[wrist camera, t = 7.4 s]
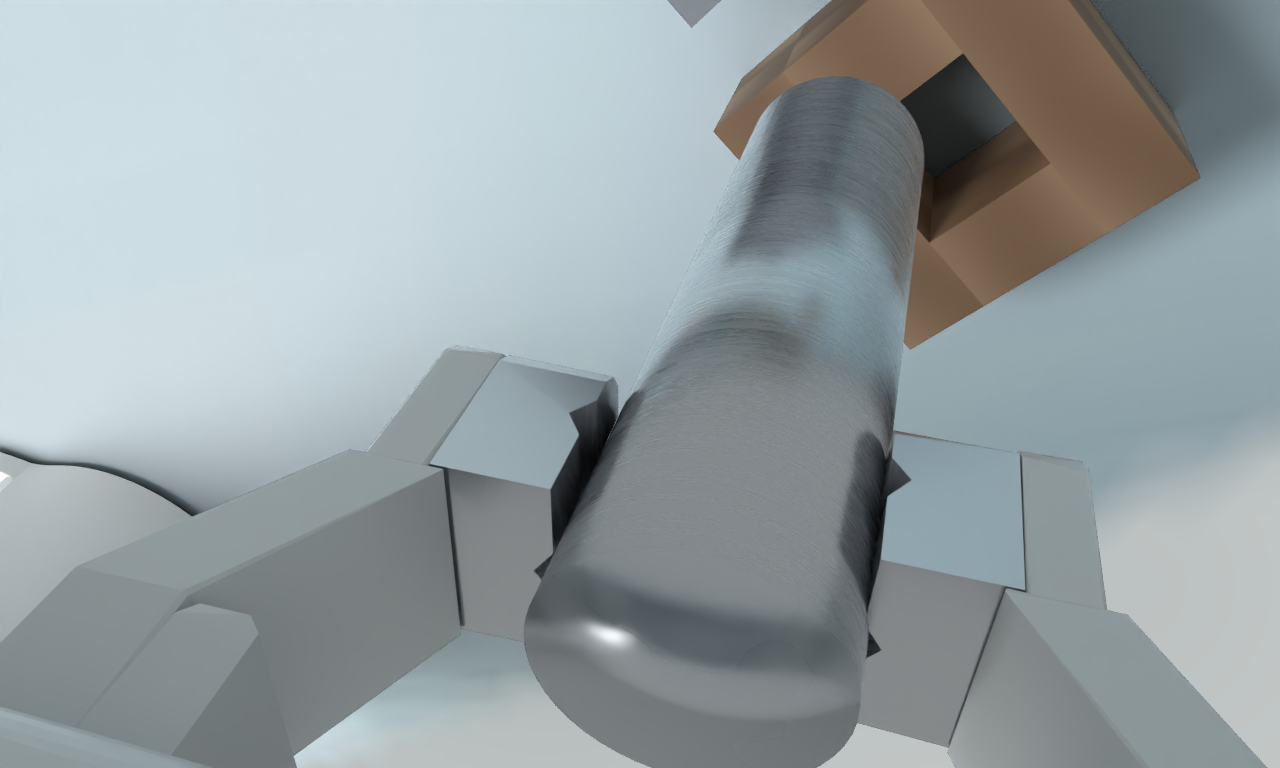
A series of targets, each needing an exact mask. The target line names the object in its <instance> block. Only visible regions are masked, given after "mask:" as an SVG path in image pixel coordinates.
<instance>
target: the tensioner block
mask: <svg viewBox="0 0 1280 768" xmlns="http://www.w3.org/2000/svg"><path fill="white" fill-rule="evenodd" d="M961 54H964V55H965V56H966V58H967V59H968V60H969V62H970V63H971V64H972V65H973V67H974V68H975V69H976V70H977V72H978V73H979V74H980V75H981V77H982V78H983V79H984V80H985V82H986V83H987V84H988V85H989V87H990V88H991V89H992V90H993V92H994V93H995V94H996V95H997V97H998V98H999V99H1000V101H1001V102H1002V103H1003V104H1004V106H1005V107H1006V108H1007V109H1008V111H1009V112H1010V113H1011V114H1012V116H1013V117H1014V118H1015V119H1016V122H1015V123H1013V124H1012V125H1010V126H1009V127H1008V128H1006V129H1005V130H1003V131H1002V132H1000V133H999V134H997V135H996V136H995V137H993V138H992V139H990V140H989V141H987V142H986V143H984V144H983V145H982V146H980V147H979V148H977V149H976V150H974V151H973V152H972V153H970V154H969V155H967V156H966V157H964V158H963V159H961V160H960V161H959V162H957V163H956V164H954V165H953V166H951V167H950V168H948V169H947V170H946V171H944V172H943V173H941V174H940V175H938V176H937V177H935V178H934V177H933V176H932V175H931V174H930V172H929V171H928V170H927V169H926V168H925V166H924V171H923V180H922V188H921V197H920V205H919V214H918V222H917V230H916V239H915V247H914V256H913V264H912V273H911V281H910V290H909V298H908V307H907V315H906V324H905V332H904V341H903V342H904V343H905V344H906V345H907V347H908V348H909V349H912V348H914V347H915V346H917V345H919V344H921V343H922V342H924V341H926V340H927V339H929V338H931V337H932V336H934V335H936V334H937V333H939V332H941V331H943V330H944V329H946V328H948V327H949V326H951V325H953V324H954V323H956V322H958V321H959V320H961V319H963V318H965V317H966V316H968V315H970V314H971V313H973V312H975V311H976V310H978V309H980V308H981V307H983V306H985V305H987V304H988V303H990V302H992V301H993V300H995V299H997V298H998V297H1000V296H1002V295H1003V294H1005V293H1007V292H1009V291H1010V290H1012V289H1014V288H1015V287H1017V286H1019V285H1020V284H1022V283H1024V282H1025V281H1027V280H1029V279H1031V278H1032V277H1034V276H1036V275H1037V274H1039V273H1041V272H1042V271H1044V270H1046V269H1047V268H1049V267H1051V266H1053V265H1054V264H1056V263H1058V262H1059V261H1061V260H1063V259H1064V258H1066V257H1068V256H1069V255H1071V254H1073V253H1075V252H1076V251H1078V250H1080V249H1081V248H1083V247H1085V246H1086V245H1088V244H1090V243H1091V242H1093V241H1095V240H1097V239H1098V238H1100V237H1102V236H1103V235H1105V234H1107V233H1108V232H1110V231H1112V230H1113V229H1115V228H1117V227H1119V226H1120V225H1122V224H1124V223H1125V222H1127V221H1129V220H1130V219H1132V218H1134V217H1135V216H1137V215H1139V214H1141V213H1142V212H1144V211H1146V210H1147V209H1149V208H1151V207H1152V206H1154V205H1156V204H1157V203H1159V202H1161V201H1163V200H1164V199H1166V198H1168V197H1169V196H1171V195H1173V194H1174V193H1176V192H1178V191H1179V190H1181V189H1183V188H1184V187H1186V186H1188V185H1190V184H1191V183H1193V182H1195V181H1196V180H1198V179H1200V178H1201V177H1200V175H1199V173H1198V170H1197V168H1196V165H1195V163H1194V160H1193V158H1192V156H1191V153H1190V151H1189V148H1188V146H1187V144H1186V141H1185V139H1184V136H1183V134H1182V132H1181V129H1180V127H1179V124H1178V122H1177V119H1176V117H1175V115H1174V113H1173V112H1172V110H1171V109H1170V108H1169V106H1168V105H1167V104H1166V102H1165V101H1164V100H1163V98H1162V97H1161V96H1160V94H1159V93H1158V92H1157V90H1156V89H1155V87H1154V86H1153V85H1152V83H1151V82H1150V81H1149V79H1148V78H1147V77H1146V75H1145V74H1144V73H1143V71H1142V70H1141V69H1140V67H1139V66H1138V64H1137V63H1136V62H1135V60H1134V59H1133V58H1132V56H1131V55H1130V54H1129V52H1128V51H1127V50H1126V48H1125V47H1124V45H1123V44H1122V43H1121V41H1120V40H1119V39H1118V37H1117V36H1116V35H1115V33H1114V32H1113V31H1112V29H1111V28H1110V27H1109V25H1108V24H1107V22H1106V21H1105V20H1104V18H1103V17H1102V16H1101V14H1100V13H1099V12H1098V10H1097V9H1096V8H1095V6H1094V5H1093V4H1092V2H1091V1H1090V0H832V1H831V2H829V3H828V4H827V5H826V6H825V7H824V8H822V9H821V10H820V11H819V12H818V13H817V14H816V15H814V16H813V17H812V18H811V19H810V20H809V21H808V22H806V23H805V24H804V25H803V26H802V27H801V28H799V29H798V30H797V31H796V32H795V33H794V34H793V35H791V36H790V37H789V38H788V39H787V40H786V41H785V42H783V43H782V44H781V45H780V46H779V47H778V48H776V49H775V50H774V51H773V52H772V53H771V54H770V55H768V56H767V57H766V58H765V59H764V60H763V61H762V62H760V63H759V64H758V65H757V66H756V67H755V68H753V69H752V70H751V71H750V72H749V73H748V74H747V75H745V76H744V77H743V78H742V79H741V81H740V83H739V85H738V87H737V89H736V91H735V92H734V94H733V96H732V98H731V100H730V102H729V104H728V105H727V107H726V109H725V111H724V113H723V115H722V117H721V118H720V120H719V122H718V124H717V126H716V128H715V130H714V131H713V132H714V133H715V134H716V135H717V136H718V137H719V138H720V139H721V140H722V142H723V143H724V144H725V145H726V146H727V147H728V148H729V149H730V150H731V152H732V153H733V154H734V155H735V156H736V157H737V158H738V159H739V160H740V158H741V156H742V154H743V152H744V150H745V147H746V145H747V143H748V141H749V139H750V137H751V135H752V133H753V131H754V128H755V126H756V124H757V122H758V120H759V118H760V117H761V115H762V114H763V113H764V111H765V110H766V108H767V107H768V106H769V105H770V104H771V103H772V102H773V101H774V100H775V99H776V98H777V97H779V96H780V95H781V94H782V93H784V92H785V91H787V90H788V89H790V88H792V87H794V86H796V85H798V84H800V83H802V82H805V81H808V80H812V79H815V78H821V77H829V76H843V77H852V78H857V79H861V80H864V81H867V82H870V83H873V84H875V85H877V86H879V87H881V88H883V89H884V90H886V91H887V92H889V93H890V94H892V95H893V96H894V97H895V98H896V99H898V100H899V101H901V100H902V99H904V98H905V97H906V96H908V95H909V94H910V93H912V92H913V91H914V90H915V89H917V88H918V87H919V86H921V85H922V84H923V83H925V82H926V81H927V80H929V79H930V78H931V77H933V76H934V75H935V74H937V73H938V72H939V71H940V70H942V69H943V68H944V67H946V66H947V65H948V64H950V63H951V62H952V61H954V60H955V59H956V58H958V57H959V56H960V55H961Z"/></svg>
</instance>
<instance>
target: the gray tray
mask: <svg viewBox="0 0 1280 768" xmlns="http://www.w3.org/2000/svg"><path fill="white" fill-rule="evenodd" d="M720 1H721V0H668V2H669V3H670V4H671V5H672V6H673V7H674V8H675V10H676V11H677V12H678V13H679V14H680V15H681V16H682V17H683V19H684V20H685V21H686V22H687V23H688V24H689V25H690V27H691V28H692V27H693V26H694V25H695V24H696V23H697V22H698V21H699V20H700V19H702V18H703V17H704V16H705V15H706V14H707V13H708V12H709V11H710V10H711V9H712V8H713V7H714V6H715V5H716V4H717V3H719V2H720Z"/></svg>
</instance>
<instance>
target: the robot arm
mask: <svg viewBox="0 0 1280 768" xmlns="http://www.w3.org/2000/svg"><path fill="white" fill-rule="evenodd" d="M617 417H618V385H617V383H616V381H615V379H614V377H611V376H606V375H601V374H596V373H592V372H587V371H582V370H577V369H573V368H568V367H563V366H558V365H554V364H549V363H544V362H539V361H535V360H530V359H525V358H520V357H516V356H511V355H509V356H505V355H503V354H499V353H494V352H489V351H484V350H479V349H474V348H469V347H463V346H458V345H456V346H454V347H451V348H448V349H446V350H445V351H443V352H442V354H441V355H440V356H439V357H438V359H437V360H436V361H435V363H434V364H433V365H432V367H431V368H430V369H429V370H428V372H427V373H426V374H425V376H424V377H423V378H422V380H421V381H420V382H419V383H418V385H417V386H416V387H415V389H414V390H413V391H412V393H411V394H410V395H409V396H408V398H407V399H406V400H405V402H404V403H403V404H402V405H401V407H400V408H399V409H398V411H397V412H396V413H395V415H394V416H393V417H392V418H391V420H390V421H389V422H388V424H387V425H386V426H385V428H384V429H383V430H382V431H381V433H380V434H379V435H378V437H377V438H376V439H375V441H374V442H373V443H372V444H371V446H370V447H369V448H368V450H367V451H366V452H361V451H356V450H351V449H349V450H347V451H344V452H342V453H340V454H337V455H335V456H333V457H330V458H328V459H326V460H323V461H321V462H319V463H316V464H314V465H312V466H309V467H307V468H305V469H302V470H300V471H298V472H295V473H293V474H291V475H288V476H286V477H284V478H281V479H279V480H277V481H274V482H272V483H270V484H267V485H265V486H263V487H260V488H258V489H256V490H253V491H251V492H249V493H246V494H244V495H242V496H239V497H237V498H234V499H232V500H230V501H227V502H225V503H223V504H220V505H218V506H216V507H213V508H211V509H209V510H206V511H204V512H202V513H199V514H197V515H195V516H190V515H189V514H188V513H186V512H185V511H183V510H182V509H180V508H179V507H177V506H176V505H174V504H173V503H171V502H170V501H168V500H166V499H165V498H163V497H161V496H159V495H158V494H156V493H154V492H152V491H150V490H148V489H146V488H144V487H142V486H140V485H138V484H136V483H133V482H131V481H129V480H126V479H123V478H121V477H118V476H115V475H112V474H109V473H106V472H102V471H98V470H94V469H90V468H84V467H78V466H64V465H39V464H33V463H30V462H27V461H24V460H22V459H19V458H16V457H13V456H10V455H8V454H5V453H2V452H0V768H297V766H296V763H295V759H294V755H296V754H297V753H298V752H300V751H301V750H302V749H304V748H305V747H306V746H308V745H309V744H311V743H312V742H313V741H315V740H316V739H317V738H319V737H320V736H322V735H323V734H324V733H326V732H327V731H328V730H330V729H331V728H333V727H334V726H335V725H337V724H338V723H339V722H341V721H342V720H344V719H345V718H346V717H348V716H349V715H350V714H352V713H353V712H355V711H356V710H357V709H359V708H360V707H361V706H363V705H364V704H366V703H367V702H368V701H370V700H371V699H372V698H374V697H375V696H377V695H378V694H379V693H381V692H382V691H383V690H385V689H386V688H387V687H389V686H390V685H392V684H393V683H394V682H396V681H397V680H398V679H400V678H401V677H403V676H404V675H405V674H407V673H408V672H409V671H411V670H412V669H414V668H415V667H416V666H418V665H419V664H420V663H422V662H423V661H425V660H426V659H427V658H429V657H430V656H431V655H433V654H434V653H436V652H437V651H438V650H440V649H441V648H442V647H444V646H445V645H447V644H448V643H449V642H451V641H452V640H453V639H455V638H456V637H458V636H459V635H460V634H461V629H466V630H471V631H475V632H480V633H485V634H489V635H494V636H499V637H503V638H508V639H513V640H517V641H522V642H524V623H525V618H526V614H527V611H528V607H529V605H530V603H531V601H532V599H533V597H534V595H535V593H536V591H537V588H538V586H539V584H540V582H541V580H542V578H543V576H544V574H545V571H546V569H547V567H548V565H549V563H550V561H551V559H552V557H553V554H554V552H555V550H556V548H557V546H558V544H559V542H560V540H561V538H562V535H563V533H564V531H565V529H566V527H567V525H568V523H569V521H570V518H571V516H572V514H573V512H574V510H575V508H576V506H577V504H578V501H579V499H580V497H581V495H582V493H583V491H584V489H585V487H586V485H587V482H588V480H589V478H590V476H591V474H592V472H593V470H594V468H595V465H596V463H597V461H598V459H599V457H600V455H601V453H602V451H603V448H604V446H605V444H606V442H607V439H608V437H609V435H610V433H611V430H612V428H613V426H614V424H615V422H616V420H617ZM879 511H880V528H879V532H878V536H877V541H876V545H875V549H874V557H873V565H872V574H871V583H870V591H869V600H868V608H867V618H868V630H869V638H868V646H867V655H866V663H865V672H864V680H863V689H862V697H861V706H860V712H859V717H858V722H857V723H860V724H863V725H868V726H871V727H875V728H878V729H882V730H886V731H890V732H893V733H897V734H901V735H904V736H908V737H911V738H915V739H919V740H923V741H926V742H930V743H934V744H937V745H941V746H945V747H948V748H949V750H948V754H949V756H950V758H951V760H952V762H953V764H954V766H955V768H1267V767H1266V766H1265V765H1264V764H1263V763H1262V761H1261V760H1260V759H1259V758H1258V757H1257V756H1256V755H1255V754H1254V753H1253V752H1252V751H1251V750H1250V748H1249V747H1248V746H1247V745H1246V744H1245V743H1244V742H1243V741H1242V740H1241V738H1239V736H1237V734H1236V733H1235V732H1234V731H1233V730H1232V729H1231V728H1230V726H1229V725H1228V724H1227V723H1226V722H1225V721H1224V720H1223V719H1222V718H1221V717H1220V715H1219V714H1218V713H1217V712H1216V711H1215V710H1214V709H1213V708H1212V707H1211V706H1210V705H1209V704H1208V702H1207V701H1206V700H1205V699H1204V698H1203V697H1202V696H1201V695H1200V694H1199V692H1198V691H1197V690H1196V689H1195V688H1194V687H1193V686H1192V685H1191V684H1190V683H1189V682H1188V680H1187V679H1186V678H1185V677H1184V676H1183V675H1182V674H1181V673H1180V672H1179V671H1178V670H1177V668H1176V667H1175V666H1174V665H1173V664H1172V663H1171V662H1170V661H1169V660H1168V659H1167V658H1166V656H1165V655H1164V654H1163V653H1162V652H1161V651H1160V650H1159V649H1158V648H1157V646H1156V645H1155V644H1154V643H1153V642H1152V641H1151V640H1150V639H1149V638H1148V637H1147V636H1146V635H1145V633H1144V632H1143V631H1142V630H1141V629H1140V628H1139V627H1138V626H1137V625H1136V623H1135V622H1133V620H1132V619H1131V618H1130V617H1129V616H1128V615H1126V614H1121V613H1117V612H1113V611H1108V610H1107V606H1106V599H1105V591H1104V583H1103V575H1102V568H1101V560H1100V553H1099V545H1098V537H1097V530H1096V522H1095V515H1094V507H1093V499H1092V492H1091V484H1090V477H1089V470H1088V468H1087V467H1086V466H1085V465H1084V463H1083V462H1082V461H1076V460H1070V459H1064V458H1058V457H1051V456H1045V455H1039V454H1033V453H1026V452H1020V451H1018V452H1017V453H1013V452H1008V451H1002V450H997V449H991V448H986V447H980V446H975V445H970V444H964V443H959V442H953V441H948V440H942V439H937V438H931V437H926V436H921V435H915V434H910V433H904V432H899V431H893V433H892V437H891V440H890V444H889V448H888V452H887V456H886V461H885V469H884V477H883V484H882V492H881V499H880V507H879ZM460 628H461V629H460Z"/></svg>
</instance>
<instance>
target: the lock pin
mask: <svg viewBox="0 0 1280 768" xmlns="http://www.w3.org/2000/svg"><path fill="white" fill-rule="evenodd" d="M923 171H924V147H923V141H922V138H921V134H920V131H919V129H918V127H917V125H916V122H915V121H914V119H913V117H912V116H911V114H910V113H909V111H908V110H907V109H906V108H905V107H904V105H903V104H902V103H901V102H900V101H899V100H898V99H896V98H895V97H894V96H893V95H892V94H890V93H889V92H887V91H886V90H884V89H883V88H881V87H879V86H877V85H875V84H873V83H870V82H867V81H864V80H861V79H857V78H852V77H843V76H829V77H821V78H815V79H812V80H808V81H805V82H802V83H800V84H798V85H796V86H794V87H792V88H790V89H788V90H787V91H785V92H784V93H782V94H781V95H780V96H779V97H777V98H776V99H775V100H774V101H773V102H772V103H771V104H770V105H769V106H768V107H767V108H766V110H765V111H764V113H763V114H762V115H761V117H760V118H759V120H758V122H757V124H756V126H755V128H754V131H753V133H752V135H751V137H750V139H749V141H748V143H747V145H746V147H745V150H744V152H743V154H742V156H741V158H740V160H739V162H738V164H737V167H736V169H735V171H734V173H733V175H732V177H731V179H730V181H729V184H728V186H727V188H726V190H725V192H724V194H723V196H722V198H721V200H720V203H719V205H718V207H717V209H716V211H715V213H714V215H713V217H712V220H711V222H710V224H709V226H708V228H707V230H706V232H705V234H704V237H703V239H702V241H701V243H700V245H699V247H698V249H697V251H696V253H695V256H694V258H693V260H692V262H691V264H690V266H689V268H688V270H687V273H686V275H685V277H684V279H683V281H682V283H681V285H680V287H679V289H678V292H677V294H676V296H675V298H674V300H673V302H672V304H671V306H670V309H669V311H668V313H667V315H666V317H665V319H664V321H663V323H662V326H661V328H660V330H659V332H658V334H657V336H656V338H655V340H654V342H653V345H652V347H651V349H650V351H649V353H648V355H647V357H646V359H645V362H644V364H643V366H642V368H641V370H640V372H639V374H638V376H637V379H636V381H635V383H634V385H633V387H632V389H631V391H630V393H629V395H628V398H627V400H626V402H625V404H624V406H623V408H622V410H621V412H620V415H619V417H618V419H617V421H616V423H615V425H614V427H613V429H612V432H611V434H610V436H609V438H608V440H607V442H606V444H605V446H604V448H603V451H602V453H601V455H600V457H599V459H598V461H597V463H596V465H595V468H594V470H593V472H592V474H591V476H590V478H589V480H588V482H587V485H586V487H585V489H584V491H583V493H582V495H581V497H580V499H579V501H578V504H577V506H576V508H575V510H574V512H573V514H572V516H571V518H570V521H569V523H568V525H567V527H566V529H565V531H564V533H563V535H562V538H561V540H560V542H559V544H558V546H557V548H556V550H555V552H554V554H553V557H552V559H551V561H550V563H549V565H548V567H547V569H546V571H545V574H544V576H543V578H542V580H541V582H540V584H539V586H538V588H537V591H536V593H535V595H534V597H533V599H532V601H531V603H530V605H529V607H528V611H527V614H526V618H525V623H524V642H525V650H526V653H527V657H528V660H529V663H530V666H531V668H532V670H533V672H534V674H535V676H536V679H537V680H538V682H539V683H540V685H541V686H542V688H543V690H544V691H545V693H546V694H547V695H548V696H549V698H550V699H551V700H552V701H553V702H554V704H555V705H556V706H557V707H558V708H559V709H560V710H561V711H562V712H563V713H564V714H565V715H566V716H567V717H568V718H569V719H570V720H571V721H573V722H574V723H575V724H576V725H577V726H578V727H580V728H581V729H582V730H583V731H585V732H586V733H587V734H589V735H590V736H592V737H593V738H595V739H596V740H597V741H599V742H600V743H602V744H604V745H606V746H607V747H609V748H611V749H613V750H614V751H616V752H618V753H620V754H622V755H624V756H626V757H628V758H630V759H632V760H634V761H636V762H639V763H642V764H644V765H647V766H649V767H652V768H816V767H818V766H820V765H822V764H823V763H825V762H826V761H828V760H829V759H831V758H832V757H833V756H834V755H836V754H837V753H838V751H840V750H841V748H843V747H844V745H845V744H846V742H847V741H848V740H849V738H850V737H851V735H852V734H853V731H854V729H855V726H856V724H857V722H858V717H859V712H860V706H861V697H862V689H863V680H864V672H865V663H866V655H867V646H868V638H869V630H868V618H867V608H868V600H869V591H870V583H871V574H872V565H873V557H874V549H875V545H876V541H877V536H878V532H879V528H880V511H879V507H880V499H881V492H882V484H883V477H884V469H885V461H886V456H887V452H888V448H889V444H890V440H891V437H892V433H893V426H894V417H895V409H896V400H897V392H898V383H899V375H900V366H901V358H902V349H903V341H904V332H905V324H906V315H907V307H908V298H909V290H910V281H911V273H912V264H913V256H914V247H915V239H916V230H917V222H918V214H919V205H920V197H921V188H922V180H923Z"/></svg>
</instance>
